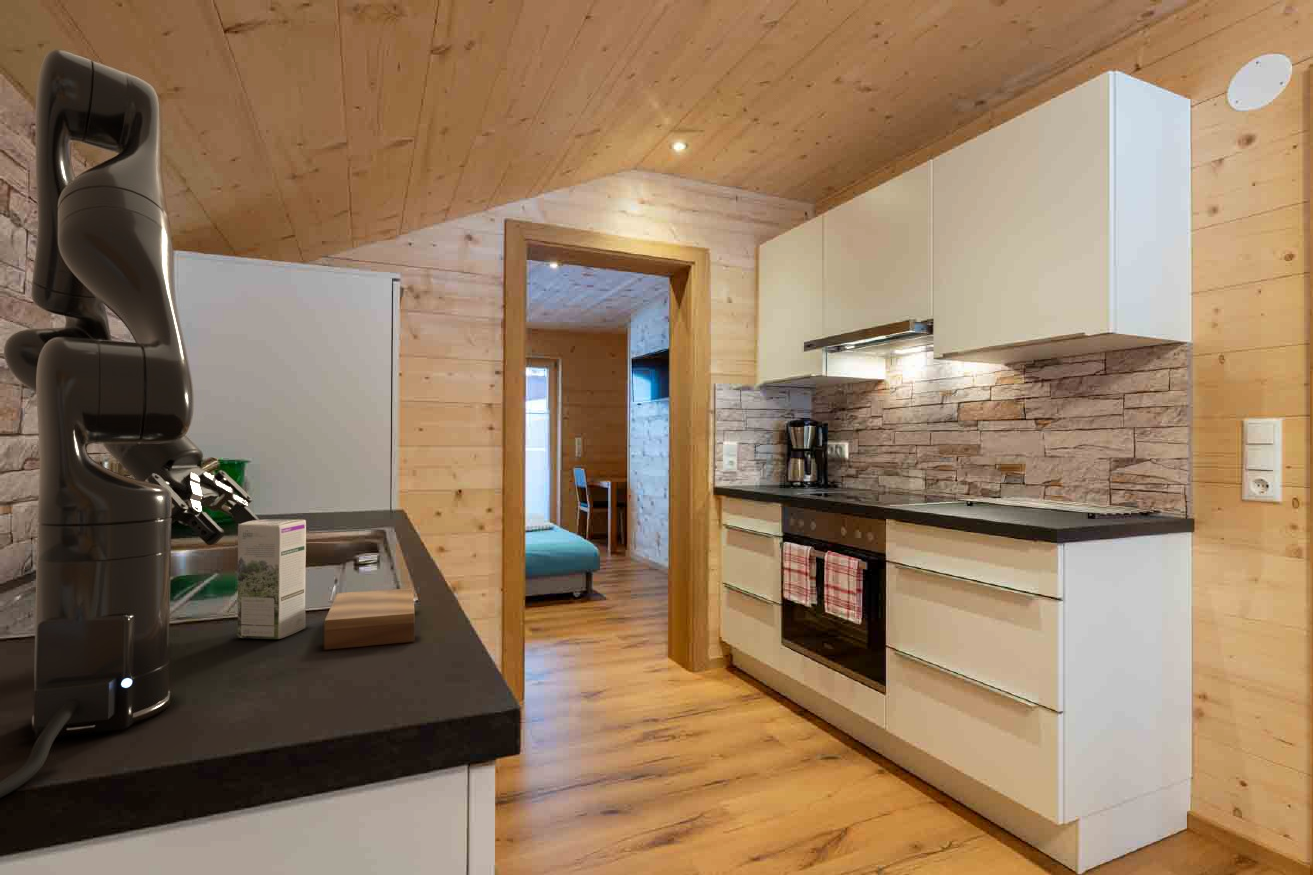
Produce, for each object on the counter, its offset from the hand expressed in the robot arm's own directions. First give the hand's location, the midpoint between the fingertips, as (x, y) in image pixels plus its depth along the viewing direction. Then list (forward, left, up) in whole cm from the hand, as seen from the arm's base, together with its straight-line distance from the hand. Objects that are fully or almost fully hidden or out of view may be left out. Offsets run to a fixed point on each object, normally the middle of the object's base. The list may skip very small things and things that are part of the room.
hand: (239, 535), depth 86 cm
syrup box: (-1, -4, -13) cm, 13 cm away
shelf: (-3, -16, -13) cm, 21 cm away
